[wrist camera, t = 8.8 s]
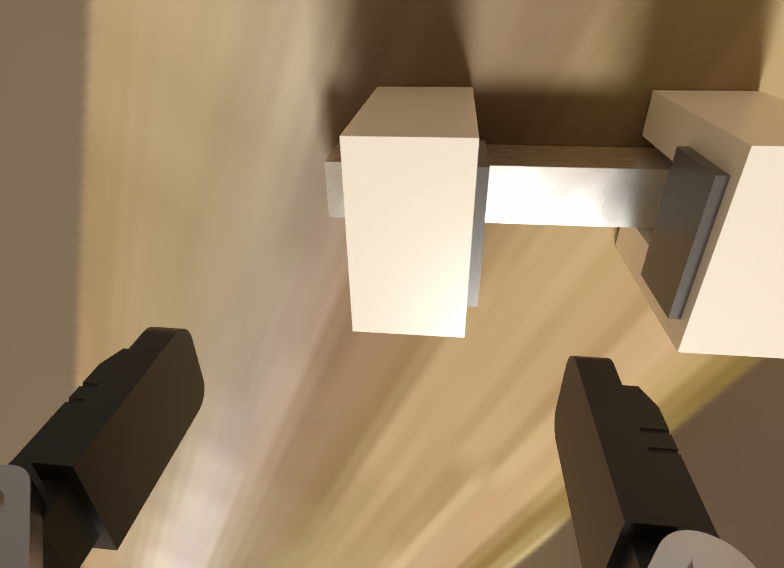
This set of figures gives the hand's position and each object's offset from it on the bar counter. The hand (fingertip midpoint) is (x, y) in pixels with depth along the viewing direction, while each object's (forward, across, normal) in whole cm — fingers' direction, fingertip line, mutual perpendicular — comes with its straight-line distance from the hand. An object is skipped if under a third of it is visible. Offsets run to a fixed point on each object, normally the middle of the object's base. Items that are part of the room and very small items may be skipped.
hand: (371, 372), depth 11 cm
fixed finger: (+14, -12, 0) cm, 18 cm away
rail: (+14, -5, 0) cm, 15 cm away
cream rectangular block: (+14, 0, 0) cm, 14 cm away
